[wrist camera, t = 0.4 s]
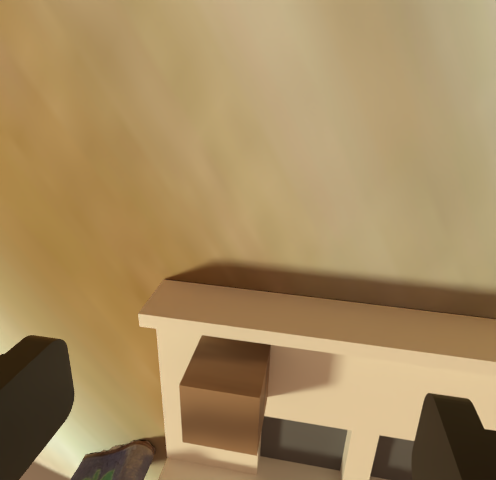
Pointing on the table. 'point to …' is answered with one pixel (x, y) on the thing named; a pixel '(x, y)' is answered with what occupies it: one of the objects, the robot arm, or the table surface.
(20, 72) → the table surface
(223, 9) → the table surface
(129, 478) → the flask
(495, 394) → the track
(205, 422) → the walnut block
